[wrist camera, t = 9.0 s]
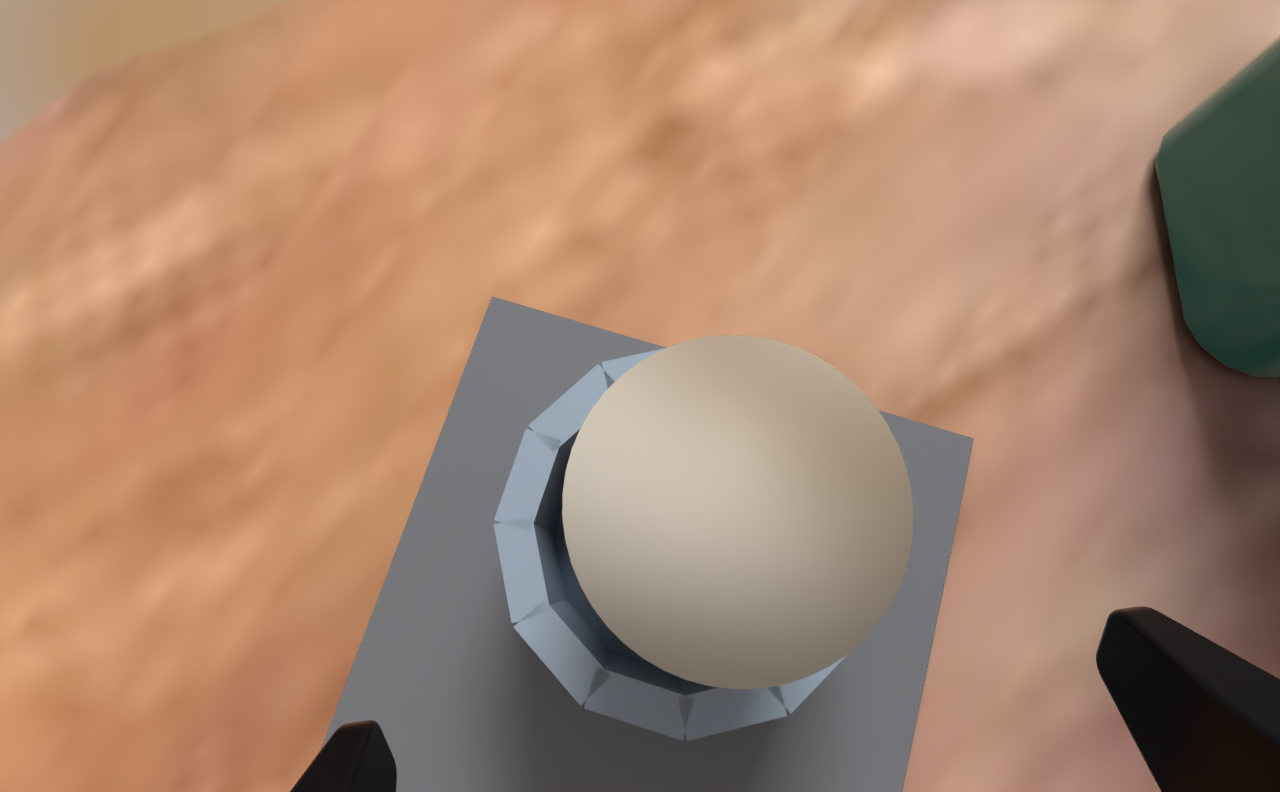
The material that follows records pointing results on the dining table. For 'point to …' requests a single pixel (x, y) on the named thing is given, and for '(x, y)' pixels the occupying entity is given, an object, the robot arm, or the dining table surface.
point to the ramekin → (564, 615)
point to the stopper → (737, 512)
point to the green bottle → (1229, 215)
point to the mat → (525, 687)
